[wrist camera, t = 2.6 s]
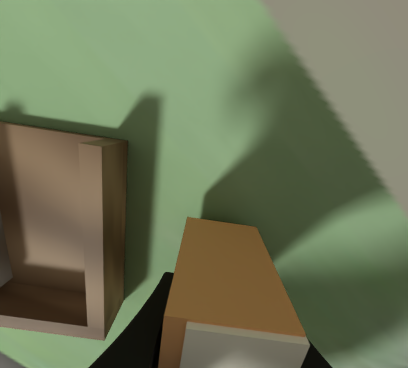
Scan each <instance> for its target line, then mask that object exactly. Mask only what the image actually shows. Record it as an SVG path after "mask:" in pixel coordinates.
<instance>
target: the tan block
mask: <svg viewBox="0 0 408 368" xmlns="http://www.w3.org/2000/svg"><path fill="white" fill-rule="evenodd" d="M309 347H310V344H309V341H308V339H307V337H306V334H305V331H304V329H303V327H302V325H301V323H300V321H299V318H298V316H297V314H296V312H295V310H294V308H293V305H292V303H291V301H290V299H289V297H288V295H287V292H286V290H285V288H284V286H283V284H282V281H281V279H280V277H279V275H278V273H277V271H276V268H275V266H274V264H273V262H272V260H271V258H270V255H269V253H268V251H267V249H266V247H265V245H264V242H263V240H262V238H261V236H260V234H259V232H258V229H257V227H254V226H247V225H240V224H233V223H226V222H219V221H212V220H205V219H198V218H191V217H187V221H186V225H185V229H184V233H183V238H182V242H181V246H180V250H179V254H178V259H177V263H176V267H175V271H174V276H173V280H172V284H171V288H170V292H169V297H168V301H167V305H166V309H165V314H164V320H163V329H162V338H161V347H160V356H159V364H158V368H301V365H302V363H303V361H304V358H305V356H306V354H307V351H308V349H309Z"/></svg>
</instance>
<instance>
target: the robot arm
mask: <svg viewBox="0 0 408 368" xmlns="http://www.w3.org/2000/svg"><path fill="white" fill-rule="evenodd" d="M173 276H174V273H171V272H165V273H164V274H163V276H162V278H161V280H160V282H159V284H158V285H157V287H156V288H155V290H154V291H153V293H152V294H151V296H150V297H149V299H148V300H147V301H146V303H145V304H144V306H143V307H142V308H141V310H140V311H139V312H138V313H137V315H136V316H135V317H134V318H133V320H132V321H131V322H130V323H129V325H128V326H127V327H126V328H125V329H124V331H123V332H122V333H121V334H120V335H119V336H118V337H117V339H116V340H115V341H114V342H113V343H112V344H111V345H110V346H109V347H108V348H107V349H106V350H105V351H104V352H103V353H102V355H101V356H100V357H99V358H98V359H97V360H96V361H95V362H94V363H93V364H92V365H91V366H90V367H89V368H158V364H159V356H160V347H161V338H162V329H163V320H164V314H165V309H166V305H167V301H168V297H169V292H170V288H171V284H172V280H173ZM308 341H309V340H308ZM309 344H310V347H309V349H308V351H307V354H306V356H305V358H304V361H303V363H302V365H301V368H332V367H331V366H330V364H329V363H328V362H327V361H326V360H325V359H324V358H323V357H322V355H321V354H320V353H319V352H318V351H317V349H316V348H315V347H314V346H313V345H312V343H311V342H310V341H309Z"/></svg>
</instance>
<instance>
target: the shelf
mask: <svg viewBox="0 0 408 368" xmlns="http://www.w3.org/2000/svg"><path fill="white" fill-rule="evenodd" d="M127 148H128V141H126V140H120V139H113V138H107V137H100V136H94V135H87V134H80V133H74V132H67V131H61V130H54V129H48V128H41V127H35V126H28V125H21V124H15V123H8V122H2V121H0V327H6V328H14V329H21V330H29V331H36V332H44V333H51V334H58V335H66V336H73V337H81V338H88V339H96V340H103V341H104V340H105V338H106V336H107V334H108V332H109V330H110V328H111V326H112V324H113V322H114V320H115V318H116V315H117V313H118V311H119V309H120V307H121V305H122V303H123V301H124V263H125V225H126V186H127Z"/></svg>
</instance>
